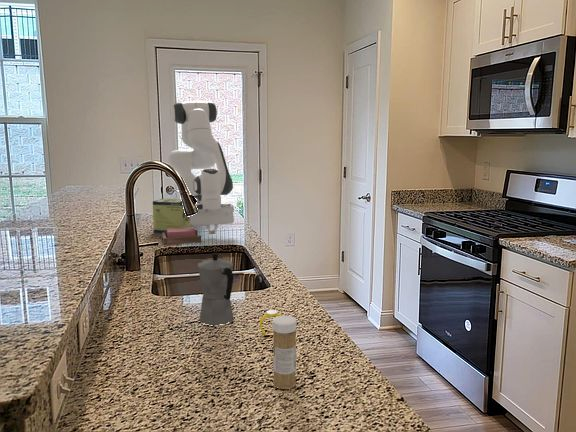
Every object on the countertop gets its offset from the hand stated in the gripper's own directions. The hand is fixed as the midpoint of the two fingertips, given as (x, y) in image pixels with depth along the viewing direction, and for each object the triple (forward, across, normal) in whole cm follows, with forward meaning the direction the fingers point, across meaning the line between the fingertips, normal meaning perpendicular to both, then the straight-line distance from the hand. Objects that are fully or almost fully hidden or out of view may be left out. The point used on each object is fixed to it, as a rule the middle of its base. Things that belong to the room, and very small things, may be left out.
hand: (212, 234), depth 220 cm
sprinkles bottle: (+2, +6, +135) cm, 135 cm away
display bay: (+2, +14, 0) cm, 14 cm away
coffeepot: (+2, +13, +100) cm, 101 cm away
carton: (+2, +14, 0) cm, 14 cm away
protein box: (+2, +17, -20) cm, 26 cm away
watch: (+2, +2, +112) cm, 112 cm away
